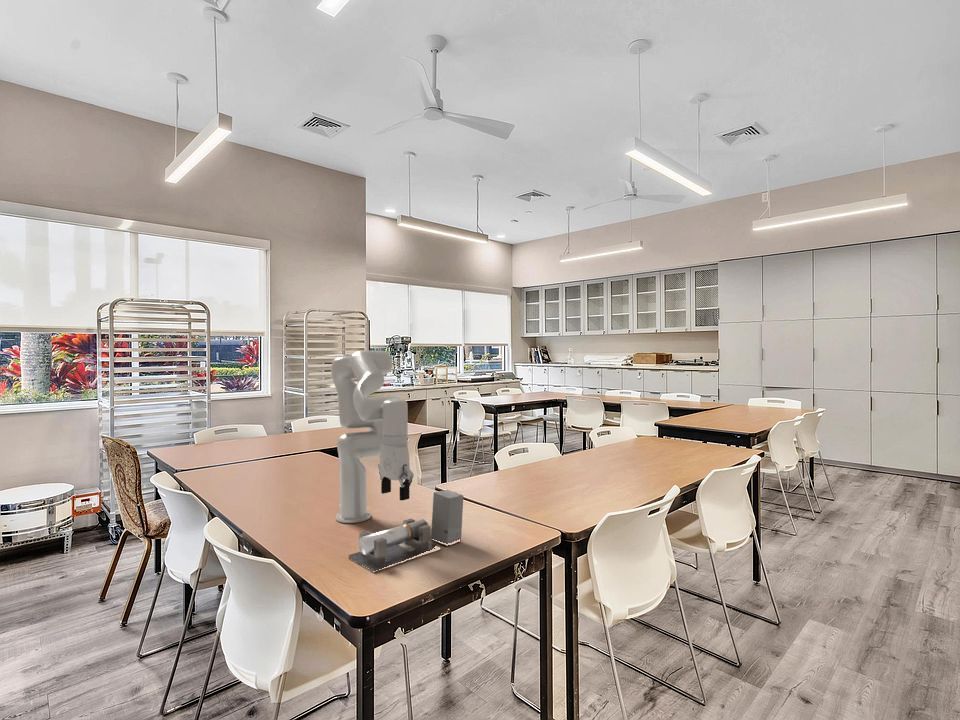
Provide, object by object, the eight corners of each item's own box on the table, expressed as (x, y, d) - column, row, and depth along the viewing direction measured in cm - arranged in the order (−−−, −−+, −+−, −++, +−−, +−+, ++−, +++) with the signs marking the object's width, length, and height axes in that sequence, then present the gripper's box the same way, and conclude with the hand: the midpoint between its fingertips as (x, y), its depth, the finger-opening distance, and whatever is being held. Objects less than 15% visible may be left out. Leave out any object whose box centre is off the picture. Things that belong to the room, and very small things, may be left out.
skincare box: (430, 540, 166) (430, 492, 166) (447, 535, 171) (446, 488, 171) (447, 548, 160) (447, 497, 160) (464, 542, 165) (464, 493, 165)
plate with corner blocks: (348, 558, 152) (348, 533, 152) (413, 537, 168) (413, 515, 168) (374, 573, 142) (373, 546, 142) (440, 549, 158) (440, 525, 158)
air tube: (368, 557, 146) (368, 539, 146) (358, 552, 149) (358, 534, 149) (429, 537, 161) (429, 521, 161) (419, 533, 165) (419, 517, 164)
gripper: (369, 437, 158) (369, 492, 159) (401, 445, 146) (401, 505, 146) (389, 435, 163) (389, 488, 164) (422, 442, 151) (422, 499, 151)
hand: (395, 496), depth 155 cm, fingers open, 9 cm apart
